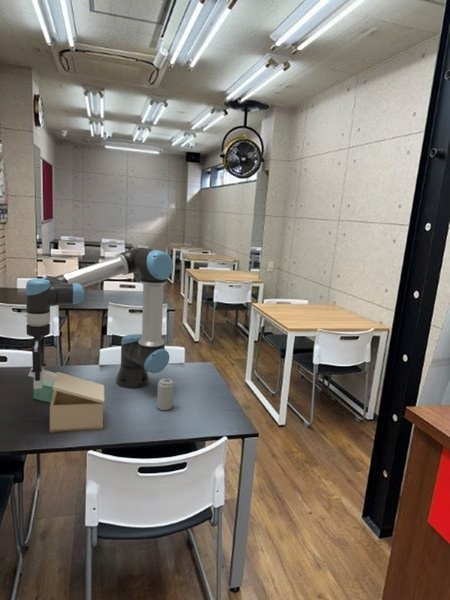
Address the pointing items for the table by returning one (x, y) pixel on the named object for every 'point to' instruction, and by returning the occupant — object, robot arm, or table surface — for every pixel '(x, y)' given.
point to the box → (44, 392)
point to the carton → (74, 413)
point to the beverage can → (165, 394)
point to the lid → (73, 385)
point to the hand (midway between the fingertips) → (38, 385)
